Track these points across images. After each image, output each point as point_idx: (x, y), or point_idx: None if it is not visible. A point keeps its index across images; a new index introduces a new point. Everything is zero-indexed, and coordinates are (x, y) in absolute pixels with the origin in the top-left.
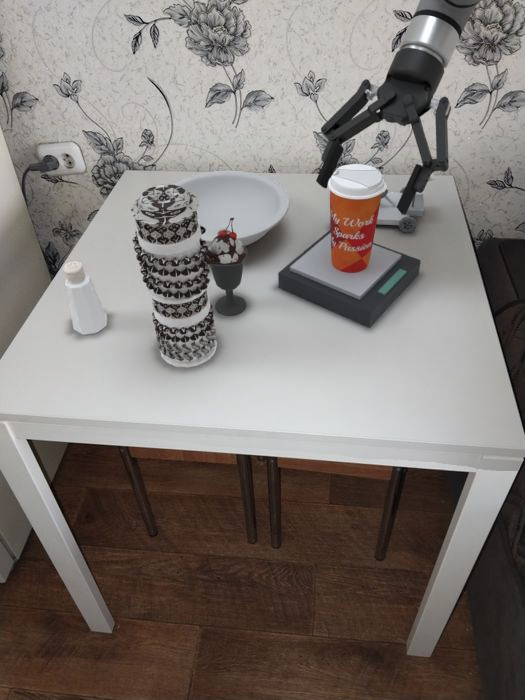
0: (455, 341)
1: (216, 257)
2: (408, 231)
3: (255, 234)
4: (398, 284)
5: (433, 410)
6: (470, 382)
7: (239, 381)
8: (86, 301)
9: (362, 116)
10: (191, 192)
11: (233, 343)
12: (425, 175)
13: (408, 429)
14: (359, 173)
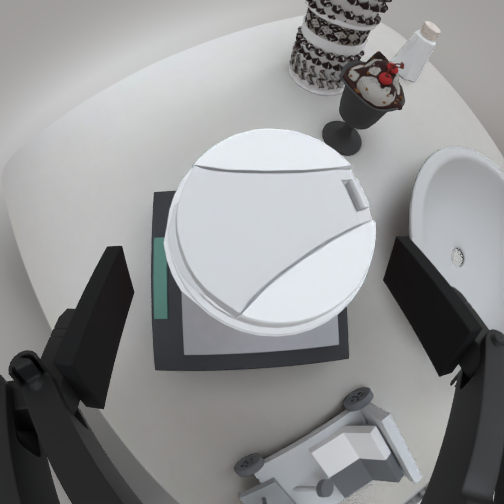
0: (60, 252)
1: (367, 62)
2: (243, 458)
3: (411, 201)
4: (151, 282)
5: (57, 146)
6: (35, 201)
7: (241, 65)
8: (407, 41)
9: (485, 463)
10: None
11: (287, 94)
12: (48, 350)
13: (73, 116)
14: (284, 235)
